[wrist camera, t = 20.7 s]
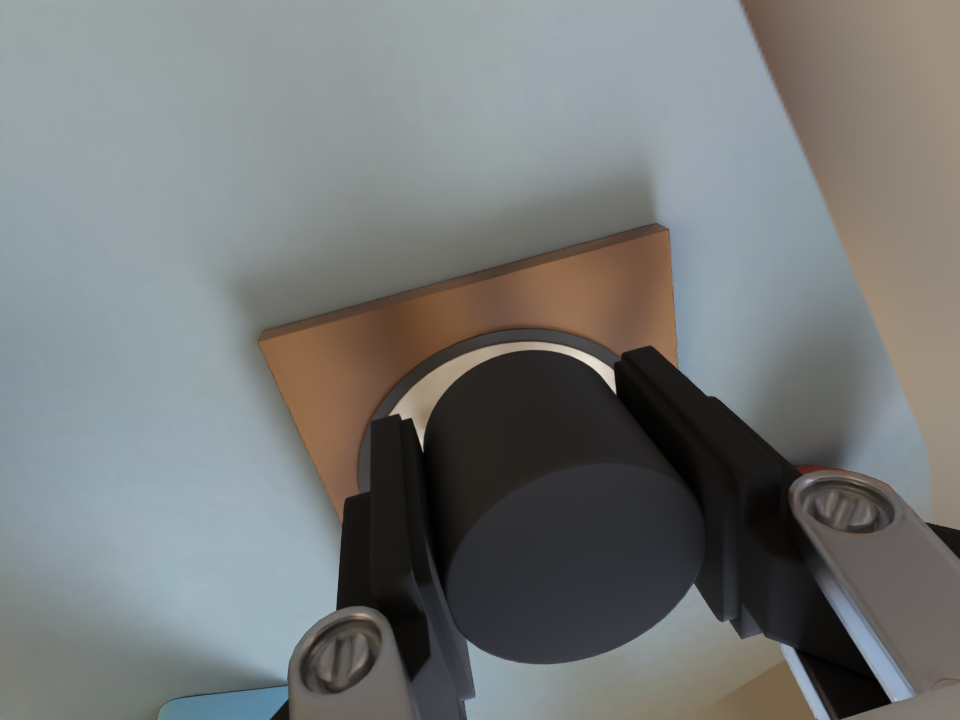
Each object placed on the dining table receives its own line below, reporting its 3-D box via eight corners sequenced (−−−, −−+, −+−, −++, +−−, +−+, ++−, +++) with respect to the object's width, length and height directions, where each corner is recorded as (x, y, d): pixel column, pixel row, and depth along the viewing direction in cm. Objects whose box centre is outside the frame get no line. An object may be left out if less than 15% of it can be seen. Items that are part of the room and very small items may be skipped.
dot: (607, 324, 10) (708, 424, 7) (625, 487, 12) (711, 623, 9) (398, 380, 10) (409, 508, 7) (449, 538, 12) (475, 695, 9)
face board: (657, 222, 25) (671, 229, 24) (680, 540, 34) (691, 556, 33) (261, 330, 24) (256, 343, 23) (396, 626, 33) (396, 646, 32)
